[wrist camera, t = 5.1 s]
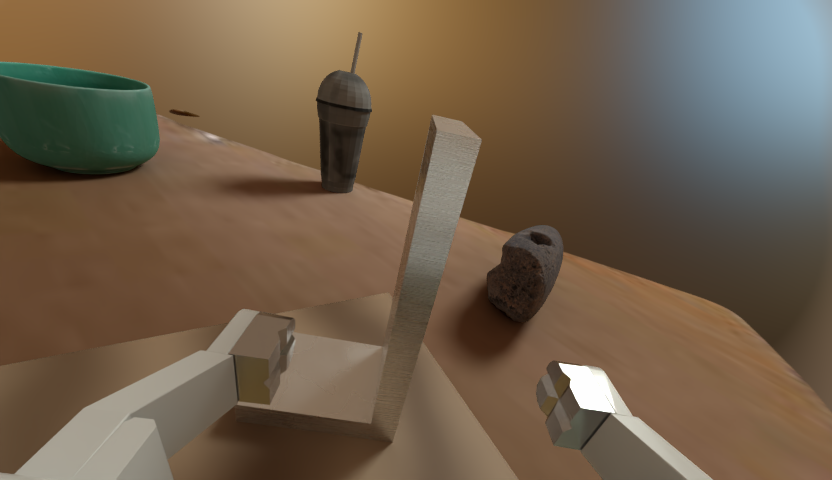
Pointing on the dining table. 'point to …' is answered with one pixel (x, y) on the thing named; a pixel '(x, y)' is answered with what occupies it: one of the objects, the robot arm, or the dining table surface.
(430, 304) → the bracket
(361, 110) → the domed lid straw cup
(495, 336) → the dining table surface
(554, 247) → the perforated stone tool
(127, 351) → the arena board
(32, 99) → the mug
